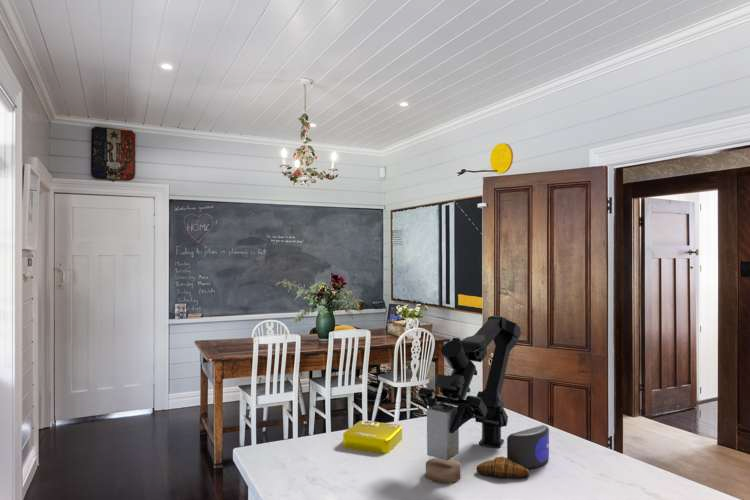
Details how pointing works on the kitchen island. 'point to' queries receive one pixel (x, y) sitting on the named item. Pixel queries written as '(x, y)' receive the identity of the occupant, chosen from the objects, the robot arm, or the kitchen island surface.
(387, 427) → the element tile
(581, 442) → the kitchen island surface
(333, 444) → the kitchen island surface
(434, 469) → the walnut stand
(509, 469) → the croissant
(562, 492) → the kitchen island surface
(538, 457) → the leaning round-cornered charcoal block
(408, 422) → the kitchen island surface
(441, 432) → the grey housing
